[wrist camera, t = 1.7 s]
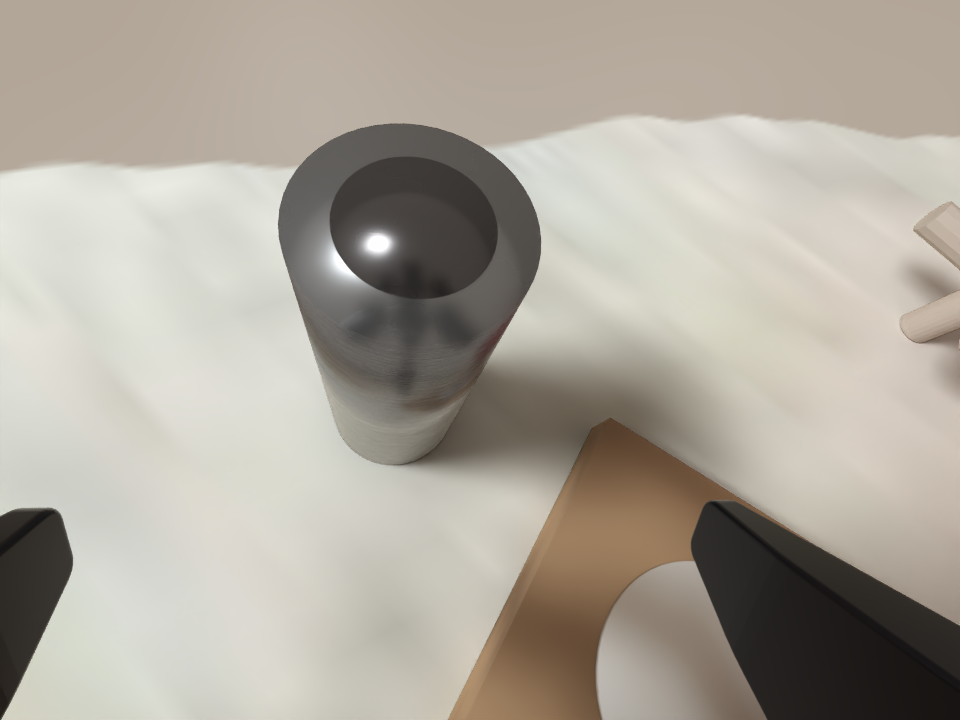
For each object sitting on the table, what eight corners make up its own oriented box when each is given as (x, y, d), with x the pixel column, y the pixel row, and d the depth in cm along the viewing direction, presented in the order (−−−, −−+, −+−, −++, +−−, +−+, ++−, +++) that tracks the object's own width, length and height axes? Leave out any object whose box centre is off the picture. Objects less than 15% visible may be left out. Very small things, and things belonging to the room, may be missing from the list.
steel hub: (411, 488, 21) (460, 396, 9) (308, 423, 21) (215, 243, 9) (473, 390, 23) (582, 206, 11) (378, 331, 23) (381, 83, 11)
